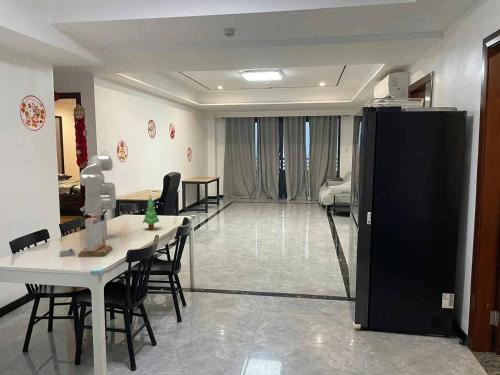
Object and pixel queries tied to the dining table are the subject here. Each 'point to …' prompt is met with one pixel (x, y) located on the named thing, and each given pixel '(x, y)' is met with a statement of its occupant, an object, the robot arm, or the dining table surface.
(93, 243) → the cracker box
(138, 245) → the dining table surface
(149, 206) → the decorative tree
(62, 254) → the bracket
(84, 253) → the plinth
